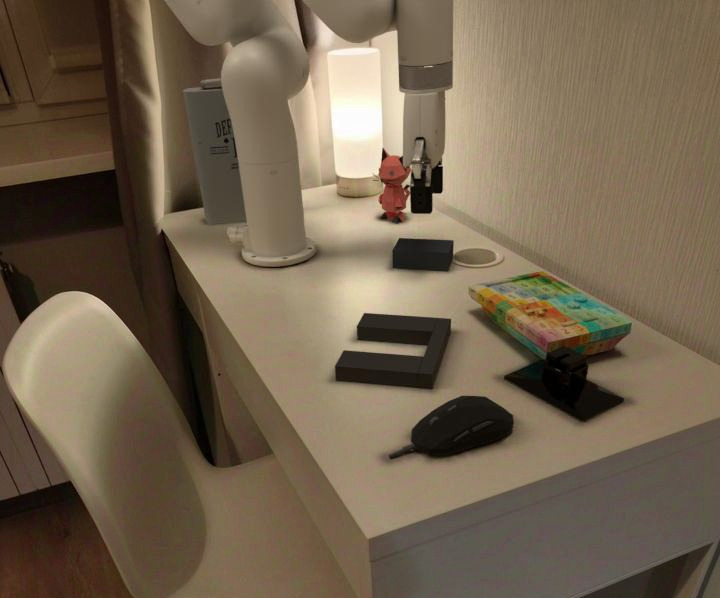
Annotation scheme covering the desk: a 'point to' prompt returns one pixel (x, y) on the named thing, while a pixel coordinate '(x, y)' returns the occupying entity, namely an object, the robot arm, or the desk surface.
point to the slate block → (422, 254)
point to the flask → (215, 153)
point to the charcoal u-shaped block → (393, 365)
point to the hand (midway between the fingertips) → (427, 202)
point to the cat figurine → (393, 186)
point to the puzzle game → (550, 314)
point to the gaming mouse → (459, 426)
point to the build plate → (565, 384)
